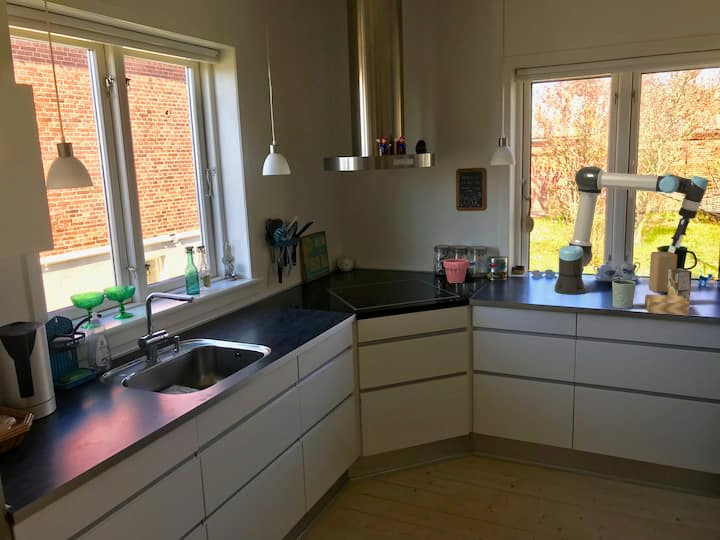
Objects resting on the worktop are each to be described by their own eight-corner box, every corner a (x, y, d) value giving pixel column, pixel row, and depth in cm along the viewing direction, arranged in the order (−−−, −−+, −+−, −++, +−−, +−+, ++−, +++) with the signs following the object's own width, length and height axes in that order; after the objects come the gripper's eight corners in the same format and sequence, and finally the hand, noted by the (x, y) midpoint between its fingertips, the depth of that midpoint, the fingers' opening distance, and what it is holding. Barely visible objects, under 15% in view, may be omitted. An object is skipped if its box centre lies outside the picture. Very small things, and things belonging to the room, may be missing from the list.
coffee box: (690, 304, 282) (692, 271, 279) (677, 305, 282) (679, 271, 279) (678, 300, 291) (680, 267, 288) (665, 301, 291) (668, 268, 288)
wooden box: (648, 312, 269) (648, 301, 268) (644, 304, 284) (645, 294, 283) (688, 315, 264) (689, 303, 263) (682, 306, 279) (683, 295, 278)
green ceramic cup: (626, 304, 286) (628, 279, 284) (639, 309, 277) (640, 283, 274) (606, 305, 285) (608, 280, 283) (618, 310, 275) (619, 284, 273)
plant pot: (444, 279, 354) (444, 258, 352) (468, 280, 352) (468, 258, 349) (442, 284, 341) (442, 262, 338) (467, 285, 338) (468, 262, 336)
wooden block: (667, 289, 317) (670, 251, 313) (675, 293, 307) (678, 254, 304) (647, 289, 318) (650, 251, 314) (655, 293, 308) (657, 254, 305)
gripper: (693, 214, 278) (676, 256, 286) (701, 207, 298) (686, 247, 306) (676, 209, 282) (660, 251, 290) (685, 203, 301) (670, 242, 309)
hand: (673, 249), depth 298 cm, fingers open, 13 cm apart
